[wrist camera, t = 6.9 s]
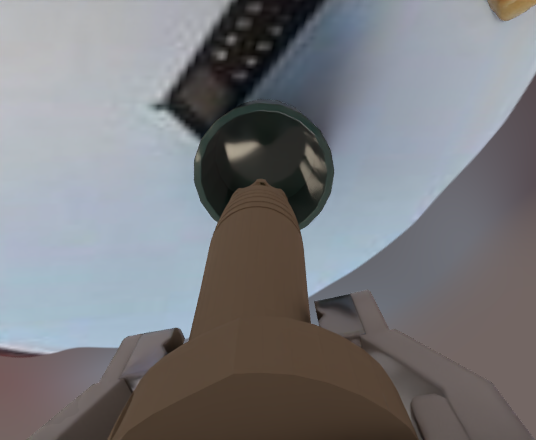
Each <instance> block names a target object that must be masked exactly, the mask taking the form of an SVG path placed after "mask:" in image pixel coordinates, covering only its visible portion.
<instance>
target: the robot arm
mask: <svg viewBox="0 0 536 440" xmlns="http://www.w3.org/2000/svg"><path fill="white" fill-rule="evenodd" d="M314 303H315V308H316V313H317V317H318V322H319V327H322V328H324V329H326V330H329V331H331V332H334V333H336V334H339V335H341V336H342V337H344V338H346V339H347V340H349V341H351V342H352V343H354V344H356V345H357V346H359V347H361V348H362V349H364V350H365V351H366V352H367V353H368V354H369V355H370V356H372V357H373V358H374V359H375V360H376V361H377V362H379V363H380V365H381V366H382V367H383V369H384V370H385V372H386V373H387V375H388V376H389V377H390V379H391V380H392V382H393V384H394V386H395V387H396V389H397V391H398V393H399V395H400V398H401V400H402V402H403V404H404V406H405V409H406V411H407V413H408V416H409V418H410V420H411V422H412V425H413V427H414V429H415V432H416V434H417V436H418V439H419V440H535V439H534V438H533V436H532V435H531V434H530V433H529V431H528V430H527V428H526V427H525V426H524V425H523V423H522V422H521V421H520V419H519V418H518V416H517V415H516V414H515V413H514V411H513V410H512V408H511V407H510V406H509V405H508V403H507V402H506V401H505V399H504V398H503V396H502V395H501V394H500V393H499V391H498V390H497V388H496V387H495V386H494V384H493V383H492V382H490V381H488V380H487V379H485V378H483V377H481V376H479V375H478V374H476V373H474V372H472V371H470V370H468V369H467V368H465V367H463V366H461V365H459V364H458V363H456V362H454V361H452V360H451V359H449V358H447V357H445V356H443V355H442V354H440V353H438V352H436V351H434V350H432V349H431V348H428V347H427V346H425V345H423V344H422V343H420V342H418V341H416V340H414V339H413V338H411V337H409V336H407V335H405V334H404V333H402V332H400V331H398V330H396V329H392V330H389V328H388V326H387V324H386V322H385V320H384V318H383V316H382V314H381V312H380V310H379V308H378V306H377V304H376V302H375V300H374V298H373V296H372V294H371V292H370V291H369V290H363V291H359V292H355V293H351V294H349V295H344V296H339V297H334V298H329V299H323V300H318V301H314ZM184 339H185V338H184V336H183V333H182V331H181V329H178V328H172V329H166V330H160V331H154V332H149V333H144V334H138V335H133V336H128V337H126V338H125V339H123V341H122V343H121V345H120V346H119V348H118V350H117V352H116V354H115V355H114V357H113V359H112V361H111V362H110V364H109V366H108V368H107V369H106V371H105V373H104V375H103V376H102V378H101V380H100V382H99V383H97V384H93V385H92V386H90V387H89V388H88V389H87V390H86V391H85V392H83V393H82V394H81V395H80V396H78V397H77V398H76V399H75V400H74V401H73V402H71V403H70V404H69V405H67V406H66V407H65V408H64V409H63V410H61V412H59V413H58V414H57V415H55V416H54V417H53V418H52V419H51V420H49V421H48V422H47V423H46V424H45V425H43V426H42V427H41V428H40V429H39V430H37V431H36V432H35V433H34V434H33V435H31V436H30V437H29V438H28V439H27V440H107V439H108V437H109V435H110V433H111V431H112V429H113V427H114V425H115V423H116V421H117V419H118V417H119V415H120V414H121V412H122V410H123V408H124V407H125V405H126V403H127V402H128V400H129V398H130V396H131V395H132V393H133V391H134V390H135V388H136V386H137V385H138V383H139V381H140V380H141V379H142V378H143V376H144V375H145V374H146V373H147V372H148V370H149V369H150V368H151V367H152V366H153V365H155V364H156V363H157V362H158V361H160V360H161V359H162V358H163V357H164V356H166V355H167V354H169V353H170V352H172V351H173V350H175V349H176V348H178V347H179V346H181V345H183V343H184Z"/></svg>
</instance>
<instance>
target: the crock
mask: <svg viewBox="0 0 536 440" xmlns="http://www.w3.org/2000/svg"><path fill="white" fill-rule="evenodd" d="M333 177H334V167H333V161H332V155H331V150H330V148H329V146H328V144H327V142H326V140H325V138H324V136H323V135H322V133H321V131H320V130H319V129H318V128H317V127H316V126H315V125H314V124H313V123H312V122H311V121H310V120H309V119H308V118H307V117H305V116H304V115H303V114H302V113H301V112H300V111H299V110H297V109H296V108H295V107H293V106H290V105H288V104H286V103H284V102H281V101H279V100H270V99H257V100H253V101H249V102H245V103H243V104H241V105H239V106H237V107H236V108H234V109H233V110H231V111H230V112H228V113H227V114H225V115H224V116H222V117H221V118H219V119H218V120H216V121H215V122H214V123H213V125H212V126H211V127H210V128H209V130H208V131H207V132H206V134H205V135H204V136H203V138H202V140H201V141H200V144H199V147H198V150H197V153H196V156H195V159H194V183H195V186H196V189H197V192H198V195H199V198H200V201H201V203H202V204H203V206H204V207H205V208H206V210H207V211H208V213H209V214H210V215H211V217H212V218H213V219H214V220H215V221H217V222H218V221H219V219H220V217H221V215H222V213H223V211H224V209H225V207H226V206H227V204H228V203H229V201H230V199H231V197H232V195H233V193H234V192H235V191H236V190H237V189H238V188H245V187H248V186H250V185H252V184H253V183H254V182H255V181H256V180H257V179H265V180H266V182H267V183H268V184H269V185H271V186H272V187H274V188H277V189H282V190H283V192H284V193H285V195H286V197H287V199H288V202H289V204H290V206H291V208H292V210H293V211H294V214H295V216H296V219H297V221H298V225H299V228H300V230H301V229H303V228H305V227H306V226H308V225H309V223H310V222H311V221H312V220H313V219H314V218H315V217H316V216H317V215H318V214H319V213H320V212H321V211H322V209H323V207H324V205H325V203H326V201H327V199H328V198H329V196H330V194H331V189H332V183H333Z"/></svg>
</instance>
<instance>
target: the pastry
mask: <svg viewBox="0 0 536 440" xmlns="http://www.w3.org/2000/svg"><path fill="white" fill-rule="evenodd" d="M487 1H488V3H489V6H490V8H491V9H492V10H493V11H494V12H495V13H496V15H497V16H498V17H499V18H500V19H501V20H503V21H508V20H511V19H513V18H515V17H517V16H519V15H521V14H522V13H524V12H526V11H527V10H528V9H530V8H531V7H532V6H534V5H536V0H487Z"/></svg>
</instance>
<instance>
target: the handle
mask: <svg viewBox="0 0 536 440" xmlns="http://www.w3.org/2000/svg"><path fill="white" fill-rule="evenodd" d="M107 440H419V439H418V436H417V434H416V432H415V429H414V427H413V425H412V422H411V420H410V418H409V416H408V413H407V411H406V409H405V406H404V404H403V402H402V400H401V398H400V395H399V393H398V391H397V389H396V387H395V386H394V384H393V382H392V380H391V379H390V377H389V376H388V375H387V373H386V372H385V370H384V369H383V367H382V366H381V365H380V363H379V362H377V361H376V360H375V359H374V358H373V357H372V356H370V355H369V354H368V353H367V352H366V351H365V350H364V349H362V348H361V347H359V346H357V345H356V344H354V343H352V342H351V341H349V340H347V339H346V338H344V337H342V336H341V335H339V334H336V333H334V332H331V331H329V330H326V329H324V328H322V327H319V326H317V325H314V324H311V321H310V311H309V304H308V292H307V281H306V270H305V259H304V248H303V241H302V236H301V232H300V228H299V225H298V221H297V219H296V216H295V214H294V211H293V210H292V208H291V206H290V204H289V202H288V199H287V197H286V195H285V193H284V192H283V190H282V189H277V188H274V187H272V186H271V185H269V184H268V183H267V182H266V180H265V179H257V180H256V181H255V182H254V183H253V184H252V185H250V186H248V187H245V188H238V189H237V190H236V191H235V192H234V193H233V195H232V197H231V199H230V201H229V203H228V204H227V206H226V207H225V209H224V211H223V213H222V215H221V217H220V219H219V221H218V224H217V226H216V229H215V231H214V234H213V237H212V240H211V243H210V247H209V252H208V257H207V261H206V266H205V271H204V275H203V280H202V285H201V289H200V294H199V298H198V302H197V307H196V311H195V315H194V320H193V324H192V328H191V333H190V337H189V341H188V342H187V343H185V344H183V345H181V346H179V347H178V348H176V349H175V350H173V351H172V352H170V353H169V354H167V355H166V356H164V357H163V358H162V359H161V360H160V361H158V362H157V363H156V364H155V365H153V366H152V367H151V368H150V369H149V370H148V372H147V373H146V374H145V375H144V376H143V378H142V379H141V380H140V381H139V383H138V385H137V386H136V388H135V390H134V391H133V393H132V395H131V396H130V398H129V400H128V402H127V403H126V405H125V407H124V408H123V410H122V412H121V414H120V415H119V417H118V419H117V421H116V423H115V425H114V427H113V429H112V431H111V433H110V435H109V437H108V439H107Z"/></svg>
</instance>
